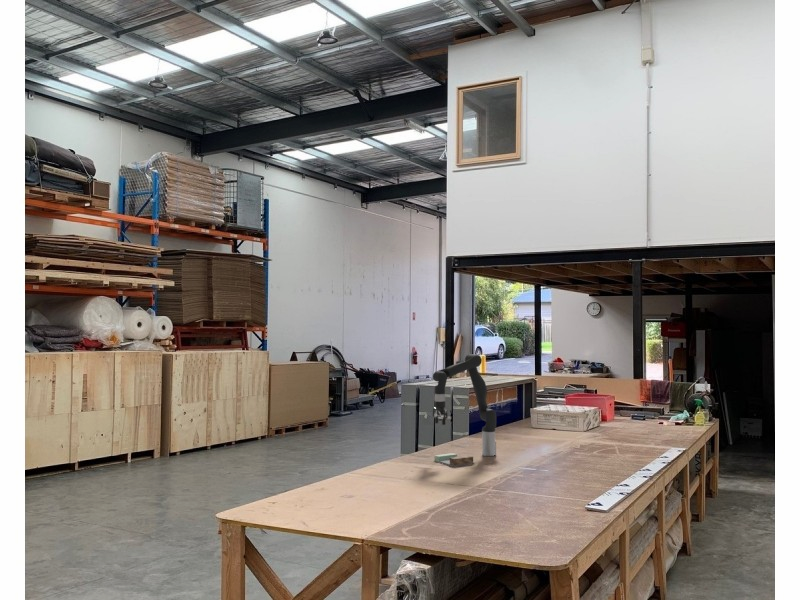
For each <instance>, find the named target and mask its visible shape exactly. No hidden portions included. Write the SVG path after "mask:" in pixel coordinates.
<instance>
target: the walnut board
mask: <svg viewBox="0 0 800 600" xmlns="http://www.w3.org/2000/svg"><path fill="white" fill-rule="evenodd" d="M473 462H474V456H473V455H469V454H468V455H463V456H457V457H452V458H450V464H452V465H459V464H467V463H473Z"/></svg>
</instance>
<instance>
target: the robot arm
mask: <svg viewBox="0 0 800 600" xmlns="http://www.w3.org/2000/svg"><path fill="white" fill-rule="evenodd" d="M482 361H483V360H482V356H480V354H474V353H473V354H472V353H471V354H469V353H468V354H467V355H466V356H465V357H464V361H463V362H459V363H454V364H452V365H449V366H447V367H446V368H443V369H442V368H441V369H438V370H436V371H435V372H433V374H432V379H433V380H434V381H435V382H437V384H436V385H435V386H434V407H433V408H432V417H434V423H435V424H439V416H440V417H441V425H442V426H445V425H446V420H447V419H448V409H445V408H446V385H447V381H448V378H452V377H454V376H456V375H459V374H460V373H462V372H465V371H468V373H469V377H470V380H471V384H472V388H473V391H474V395H475V399H476V402H477V405H478V411H479V416H480V419H481V420H482V421H484V422H485V425H484V426H482V428H481V436H482V438H481V442H482V444H481V445H482V447H481V449H482V451H481V455H482V456H483V457H484V456H485V457H494V455H495V456H496V455H497V442H496V428H497V412H496V410H494V409H491V408H489V407H488V404H487V395H488V388H487V384H486V381H485V380H484V378H483V376H482V375H481V374H480V373H479V371H478V368H479V366H481V365H482ZM477 367H478V368H477Z"/></svg>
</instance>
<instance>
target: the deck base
mask: <svg viewBox="0 0 800 600" xmlns="http://www.w3.org/2000/svg"><path fill="white" fill-rule="evenodd" d="M442 463H443V464H442ZM439 464H442V465H445V464H446V465H445V466H448V465H449V467H452V468H454V467H455V466H456V467H463V466H469V465H475V462H474V461H473V463H467V464H459V465H452V464H450V460H447V461H440V462H439ZM456 467H455V468H456Z"/></svg>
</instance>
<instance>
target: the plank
mask: <svg viewBox="0 0 800 600" xmlns="http://www.w3.org/2000/svg"><path fill="white" fill-rule="evenodd" d="M452 457H458V454H457V453H454V452H451V453H445V454H443V453H442V454H436V455H434V462H437V461H438V462H437V463H440V461H447V460H450V458H452Z"/></svg>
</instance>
